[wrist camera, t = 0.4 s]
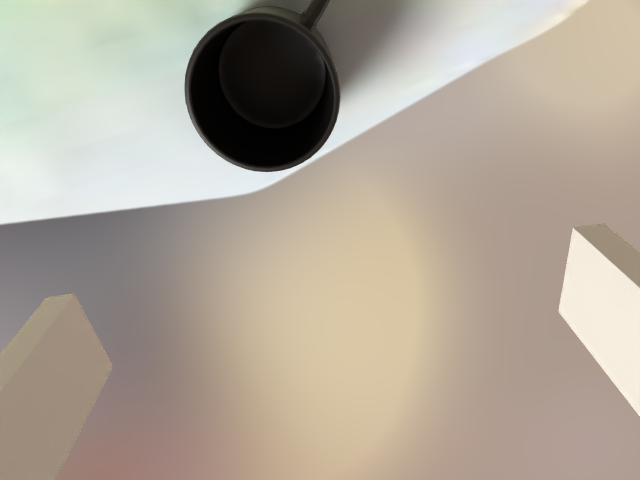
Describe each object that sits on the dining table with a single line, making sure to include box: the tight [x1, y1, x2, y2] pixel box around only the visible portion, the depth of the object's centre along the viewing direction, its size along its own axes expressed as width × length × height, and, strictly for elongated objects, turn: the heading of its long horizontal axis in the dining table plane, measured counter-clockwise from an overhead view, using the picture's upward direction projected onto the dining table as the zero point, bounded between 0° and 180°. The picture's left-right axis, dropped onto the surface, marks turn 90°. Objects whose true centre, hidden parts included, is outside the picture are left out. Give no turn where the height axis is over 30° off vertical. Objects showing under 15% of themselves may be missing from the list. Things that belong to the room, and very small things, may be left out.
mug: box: [185, 0, 340, 172], centre depth 30 cm, size 9×12×9 cm
